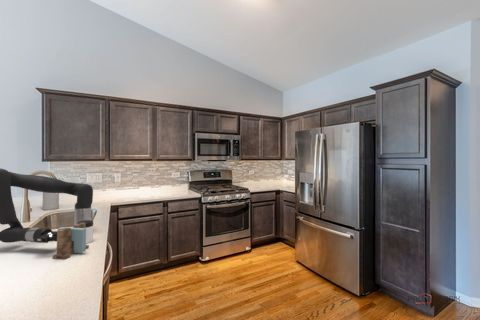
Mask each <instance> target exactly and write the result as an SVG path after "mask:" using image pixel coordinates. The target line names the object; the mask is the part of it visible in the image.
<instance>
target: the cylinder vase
mask: <svg viewBox="0 0 480 320" xmlns="http://www.w3.org/2000/svg"><path fill="white" fill-rule="evenodd" d="M59 208H60V193H57V194H56V193H45V192H42V210H43V211H53V210H54V211H55V210H57V209H59Z"/></svg>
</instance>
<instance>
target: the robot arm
mask: <svg viewBox="0 0 480 320" xmlns="http://www.w3.org/2000/svg"><path fill="white" fill-rule="evenodd" d="M11 187H15V188H20V189H23V190H30V191H34V192H37V193H38V192H39V193H43V192H45V193H59V194H67V195H71V196H75V197H76V203H74V218H73V219H74V221H73V222H74V224H73V225H76V224H77V223H78V222H80V221H85V220H92V221H93V219H92V204H93V199H94V189H93V187H92V185H90V184H88V183H83V182H80V183H79V182H69V181H64V180H61V179H58V178H54V177H49V176H43V175H35V174H33V175H32V174H21V173H18V172H17V173H16V172H12V171H8V170H7V169H4V168H1V167H0V225H8V226H9V227H8V228H7V227H6V228H4V229H2V230H1V231H0V242H2V243H7V244H10V243H18V242H30V243H38V244H39V243H42V244H45V243H46V244H48V243H49V242H50V243H52V242H57V231H58V230H52V229H51V228H49V227H23V226H24V225H22V223H21V222H20V220H19V219H18V217H17V212H16V207H15V204H14V201H13V196H12V189H11Z"/></svg>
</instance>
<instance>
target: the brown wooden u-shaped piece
mask: <svg viewBox="0 0 480 320" xmlns="http://www.w3.org/2000/svg"><path fill="white" fill-rule="evenodd" d="M71 228H86V223H79V224H76V225H74V224H73V227H69V228H64V229H61V230H58V229H57V230H56V231H57V241H56V253H54V254H52V257H51V258H52V259H54V260H67V259H69V258H71V255H73V254H74V253H76V252H74V241H71ZM87 249H90V245H89V244H86V250H87Z"/></svg>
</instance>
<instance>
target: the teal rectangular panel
mask: <svg viewBox="0 0 480 320" xmlns="http://www.w3.org/2000/svg"><path fill="white" fill-rule="evenodd" d="M64 228H71V241H74V252H75V253H82V254H83V253H84V252H86V250H87V249H86V245H87V243H86V228H73V227H70V226H69V227H66V226H65V227H64V226H61V227H59V228H57V231H58V230H61V229H64Z"/></svg>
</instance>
